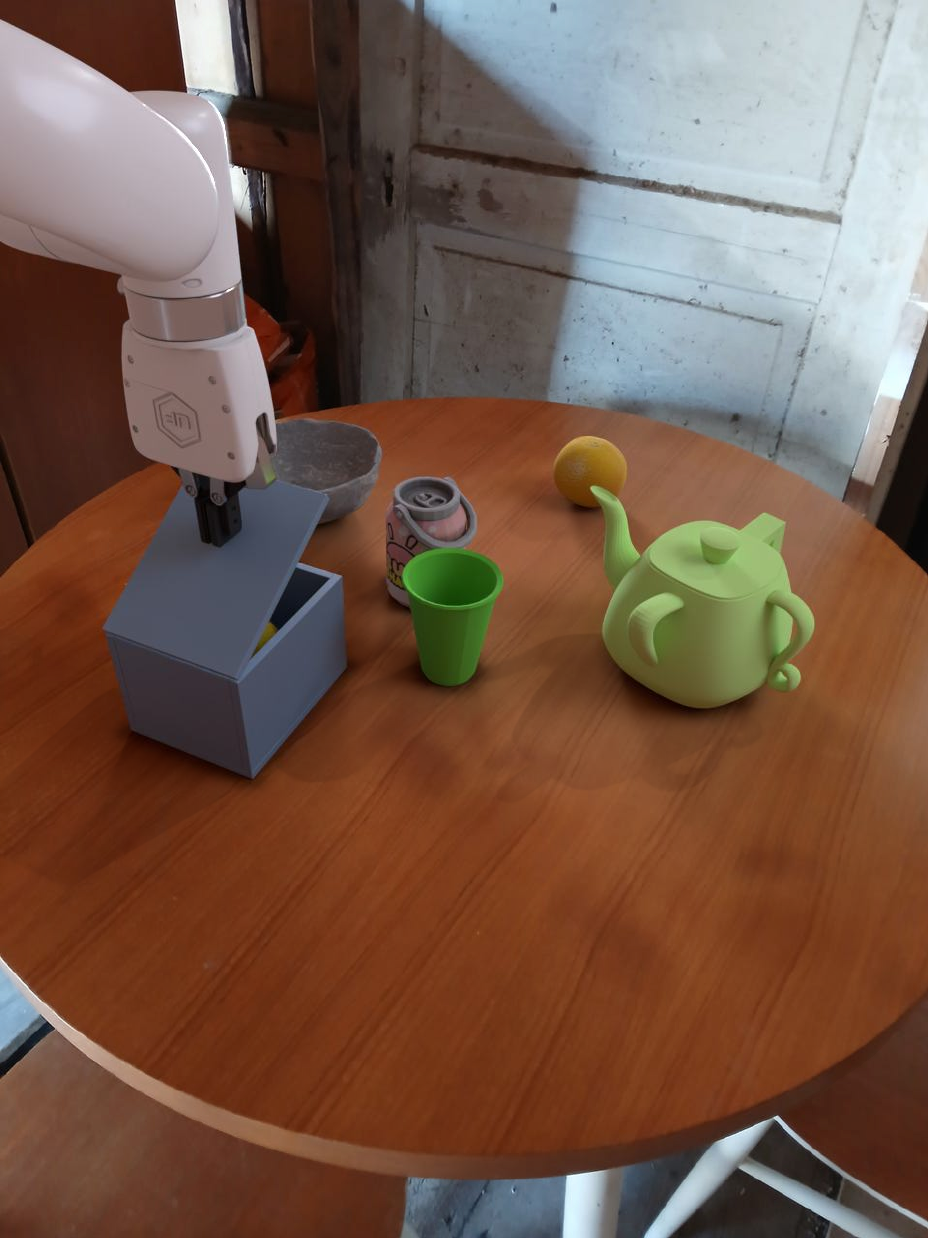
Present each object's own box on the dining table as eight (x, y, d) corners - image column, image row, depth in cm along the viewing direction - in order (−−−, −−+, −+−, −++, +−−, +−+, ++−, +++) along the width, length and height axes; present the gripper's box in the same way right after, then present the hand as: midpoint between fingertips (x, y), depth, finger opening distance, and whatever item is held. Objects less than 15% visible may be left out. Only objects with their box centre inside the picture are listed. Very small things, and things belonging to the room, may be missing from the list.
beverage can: (487, 592, 96) (494, 495, 89) (435, 629, 91) (438, 529, 84) (422, 558, 101) (423, 463, 93) (369, 592, 95) (366, 493, 88)
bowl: (198, 525, 104) (188, 463, 99) (285, 459, 117) (279, 402, 112) (333, 568, 98) (329, 505, 93) (408, 494, 111) (408, 435, 106)
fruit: (624, 489, 114) (635, 432, 109) (617, 523, 108) (627, 463, 103) (556, 478, 116) (563, 421, 111) (544, 510, 110) (551, 451, 105)
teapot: (807, 727, 82) (857, 603, 73) (589, 718, 82) (613, 591, 73) (758, 602, 97) (795, 485, 88) (573, 593, 97) (591, 475, 88)
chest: (236, 628, 90) (223, 538, 83) (347, 667, 86) (342, 575, 79) (130, 730, 79) (105, 635, 72) (252, 779, 75) (237, 684, 68)
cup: (474, 630, 91) (480, 540, 84) (510, 689, 85) (520, 596, 78) (389, 649, 88) (388, 556, 82) (419, 711, 82) (421, 616, 75)
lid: (201, 462, 77) (197, 457, 76) (329, 499, 73) (326, 494, 72) (106, 632, 72) (101, 629, 71) (239, 681, 68) (234, 678, 67)
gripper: (58, 303, 60) (114, 535, 71) (248, 349, 55) (275, 588, 67) (135, 271, 65) (175, 491, 77) (313, 310, 61) (328, 537, 72)
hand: (222, 536), depth 72 cm, fingers closed
